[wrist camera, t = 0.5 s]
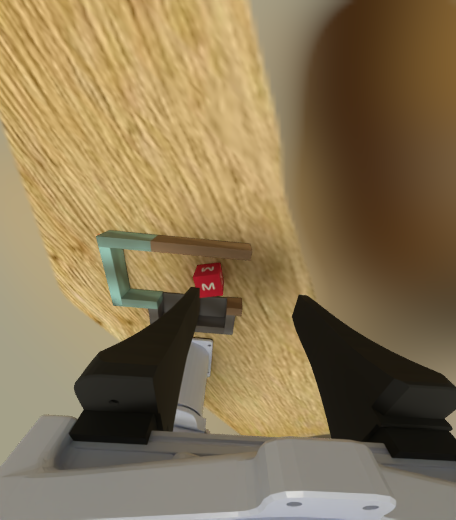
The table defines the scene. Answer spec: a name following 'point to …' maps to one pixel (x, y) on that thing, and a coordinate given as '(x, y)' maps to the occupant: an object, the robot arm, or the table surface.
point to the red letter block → (209, 280)
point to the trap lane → (158, 303)
